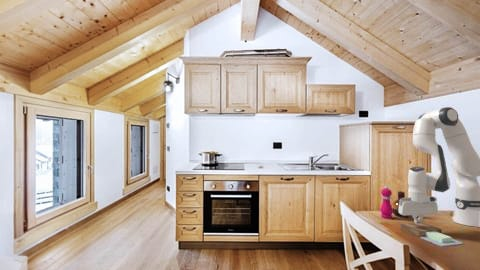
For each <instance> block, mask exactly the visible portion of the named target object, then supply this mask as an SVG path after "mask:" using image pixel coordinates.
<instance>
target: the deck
mask: <svg viewBox="0 0 480 270" xmlns="http://www.w3.org/2000/svg"><path fill="white" fill-rule="evenodd" d="M400 231H403V232H404V233H405V232H406V233H407V234H410V235H413V236H415V237H417V238H420V237H425V232H432V231H436V232H439V233H441V234H443V231H442V228H439V227H436V226H433V225H431V224H428V223H425V222H422V223H415V222H412V223H411V222H410V223H402V224H400Z"/></svg>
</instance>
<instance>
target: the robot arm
mask: <svg viewBox="0 0 480 270" xmlns="http://www.w3.org/2000/svg"><path fill="white" fill-rule="evenodd" d="M436 129H441V132H442V136H443V139H444V141H445V144H446V145H447V148H448V151H449V152H450V153H451V155H452V157H453V159H452V160H451V164H450V165H451V168H452V172H453V177H454V182H455V199H454V204H455V205H454V208H453V209H454V210H453V216H451V218H452V221H453V222H454V223H456V224H459V225H463V226H469V227H477V228H480V183H479V181H478V177H480V156H479V154H478V153H477V151H476V150H475V148H474V146H473V145H472V143H471V139H470V137H469V135H468V132H467V130H466V128H465V125H464V124H463V123H462V120H460V118H459V114H458V112H457V110H455V109H454V108H453V107H451V106H449V107H448V106H447V107H442V108H436V109H433V110H430V111H429V112H426V113H423V114H421V115H419V116H418V119H417V120H415V122H414V125H413V129H412V145H413V147H414V148H416V150H418V151H420V152H423V153H426V154H428V155H431V156H433V157H434V159H435V162H436V163H435V164H436V170H437V172H427V171H426V169H425V168H424V167H421V166H415V167H413V166H412V167H410V168H409V169H408V173H407V174H408V175H407V185H408V190H407V197H405V198H402V199H400V200H399V210H398V212H399V214H401V215H403V216H405V215H410V216H411V217H412V218H413V219H414V220H413V223H423V222H422V221H423V219H424V216H429V215H430V216H431V215H432V216H433V215H438V211H439V210H438V209H439V206H438V203H437V201H438V198H437V197H436V196H432V195H430V194H428V191H433V192H434V191H435V192H439V193H445V192H446V191H448V190H450V188H451V180H450V177H449V174H448V169H447V164H446V158H445V153H444V149H443V147H442V145H440V144H438V142H437V139H436Z"/></svg>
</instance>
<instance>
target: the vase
mask: <svg viewBox="0 0 480 270" xmlns="http://www.w3.org/2000/svg"><path fill="white" fill-rule="evenodd" d="M405 194H406V193H405V191H400V190H399V191H397V199H396V200H395V201H393V202H392V204H391V206H392V208H393V213H392V215H394V216H395V217H398V218H409V217H410V216H411V215H405V216H403V215H401V214H399V212H398V210H399V200H400V199H402V198H406V195H405Z"/></svg>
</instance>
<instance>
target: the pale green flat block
mask: <svg viewBox="0 0 480 270" xmlns="http://www.w3.org/2000/svg"><path fill="white" fill-rule="evenodd" d="M425 236H426V237H429V238H431V239H434V240H436V241H439V242H441V243H444V242H452V239H453V237H451V236H449V235H446V234H444V233H442V234H441V233H439V232H436V231H432V232H425Z"/></svg>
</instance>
